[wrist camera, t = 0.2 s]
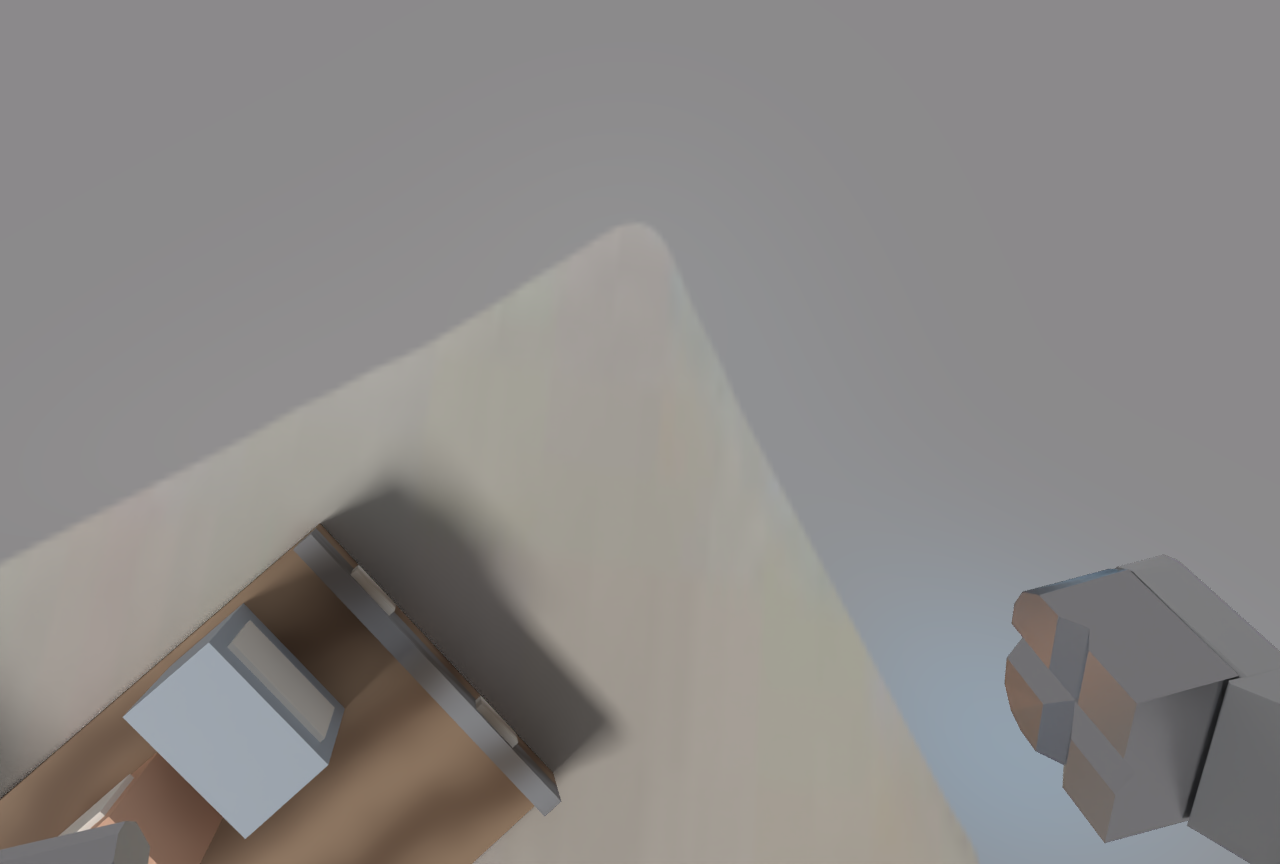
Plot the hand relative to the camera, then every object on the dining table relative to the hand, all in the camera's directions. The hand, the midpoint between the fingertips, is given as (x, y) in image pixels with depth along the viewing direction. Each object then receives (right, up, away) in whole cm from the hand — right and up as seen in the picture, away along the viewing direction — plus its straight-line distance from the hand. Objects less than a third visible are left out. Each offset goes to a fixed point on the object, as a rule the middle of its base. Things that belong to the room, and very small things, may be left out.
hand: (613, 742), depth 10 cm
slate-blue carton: (-20, -11, +50) cm, 55 cm away
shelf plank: (-20, -18, +52) cm, 59 cm away
